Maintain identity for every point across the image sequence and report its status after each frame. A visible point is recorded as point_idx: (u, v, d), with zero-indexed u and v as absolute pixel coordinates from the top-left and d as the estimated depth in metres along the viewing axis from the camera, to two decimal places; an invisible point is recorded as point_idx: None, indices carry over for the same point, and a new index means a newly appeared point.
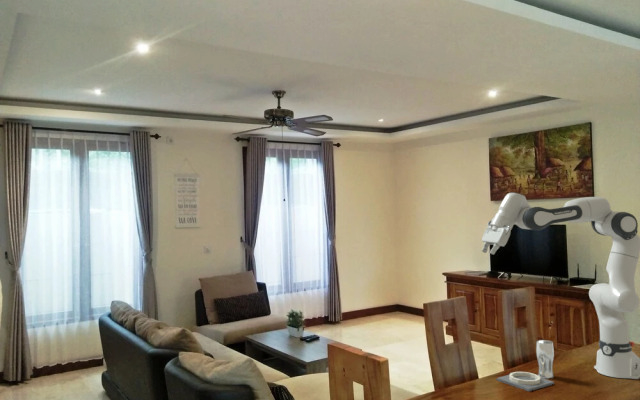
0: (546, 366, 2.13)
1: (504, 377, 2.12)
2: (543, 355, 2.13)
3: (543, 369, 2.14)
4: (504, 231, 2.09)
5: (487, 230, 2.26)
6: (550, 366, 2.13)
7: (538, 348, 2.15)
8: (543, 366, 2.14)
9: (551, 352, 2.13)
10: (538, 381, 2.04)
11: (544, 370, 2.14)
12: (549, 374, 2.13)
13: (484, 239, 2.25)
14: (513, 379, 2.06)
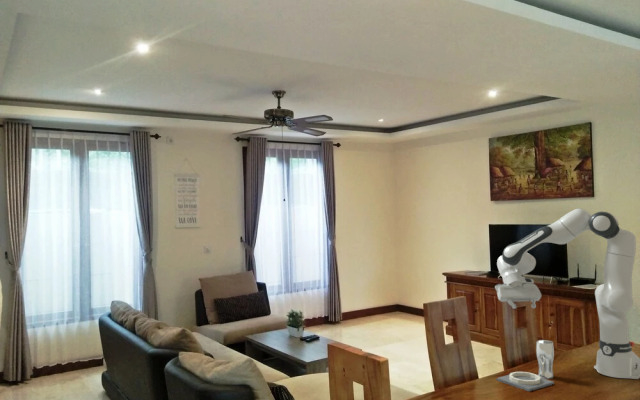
0: (546, 366, 2.13)
1: (504, 377, 2.12)
2: (543, 355, 2.13)
3: (543, 369, 2.14)
4: (497, 291, 2.38)
5: None
6: (550, 366, 2.13)
7: (538, 348, 2.15)
8: (543, 366, 2.14)
9: (551, 352, 2.13)
10: (538, 381, 2.04)
11: (544, 370, 2.14)
12: (549, 374, 2.13)
13: None
14: (513, 379, 2.06)
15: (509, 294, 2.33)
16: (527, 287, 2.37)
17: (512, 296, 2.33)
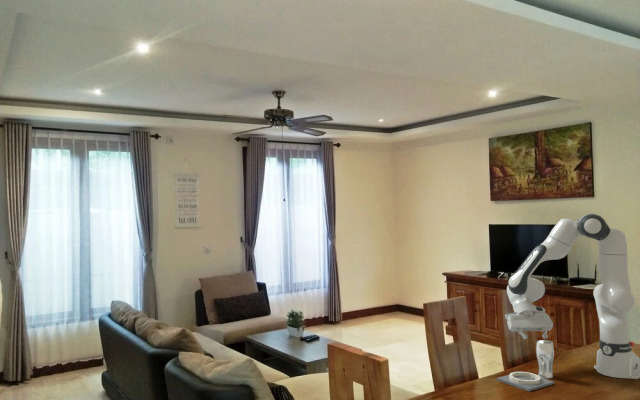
0: (546, 366, 2.13)
1: (504, 377, 2.12)
2: (543, 355, 2.13)
3: (543, 369, 2.14)
4: (507, 320, 2.31)
5: None
6: (550, 366, 2.13)
7: (538, 348, 2.15)
8: (543, 366, 2.14)
9: (551, 352, 2.13)
10: (538, 381, 2.04)
11: (544, 370, 2.14)
12: (549, 374, 2.13)
13: None
14: (513, 379, 2.06)
15: (520, 324, 2.27)
16: (538, 316, 2.30)
17: (523, 326, 2.26)
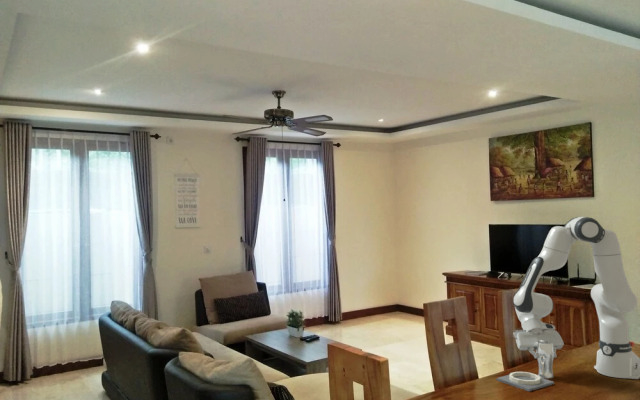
0: (546, 366, 2.13)
1: (504, 377, 2.12)
2: (543, 355, 2.13)
3: (543, 369, 2.14)
4: None
5: None
6: (550, 366, 2.13)
7: (538, 348, 2.15)
8: (543, 366, 2.14)
9: (551, 352, 2.13)
10: (538, 381, 2.04)
11: (544, 370, 2.14)
12: (549, 374, 2.13)
13: None
14: (513, 379, 2.06)
15: (529, 343, 2.18)
16: (548, 334, 2.22)
17: (532, 344, 2.18)
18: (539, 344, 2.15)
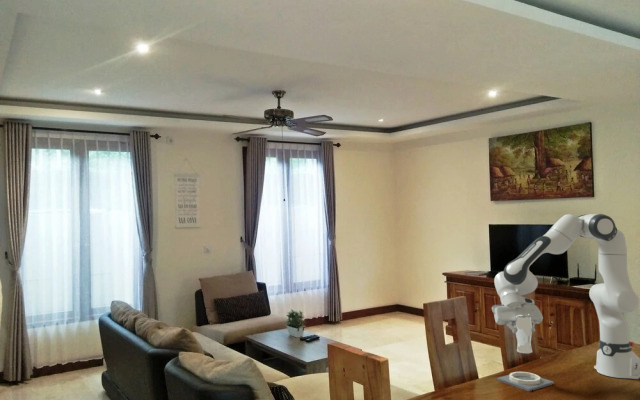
0: (525, 341, 2.07)
1: (504, 377, 2.12)
2: (521, 329, 2.07)
3: (522, 343, 2.07)
4: (494, 312, 2.16)
5: None
6: (528, 340, 2.07)
7: (516, 322, 2.08)
8: (521, 341, 2.07)
9: (529, 326, 2.06)
10: (538, 381, 2.04)
11: (522, 344, 2.07)
12: (528, 349, 2.06)
13: None
14: (513, 379, 2.06)
15: (507, 317, 2.12)
16: (527, 308, 2.15)
17: (510, 319, 2.11)
18: (517, 318, 2.08)
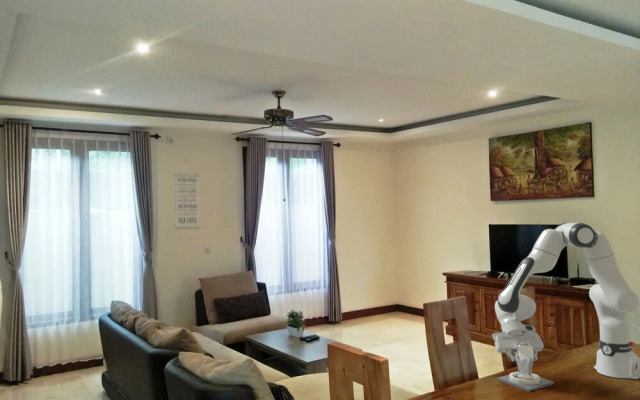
0: (526, 369, 2.06)
1: (504, 377, 2.12)
2: (522, 358, 2.06)
3: (523, 372, 2.07)
4: None
5: None
6: (529, 369, 2.06)
7: (517, 350, 2.08)
8: (522, 369, 2.07)
9: (530, 355, 2.06)
10: (538, 381, 2.04)
11: (523, 373, 2.07)
12: (528, 377, 2.06)
13: None
14: (513, 379, 2.06)
15: (508, 345, 2.11)
16: (528, 336, 2.15)
17: (511, 347, 2.10)
18: (518, 346, 2.08)
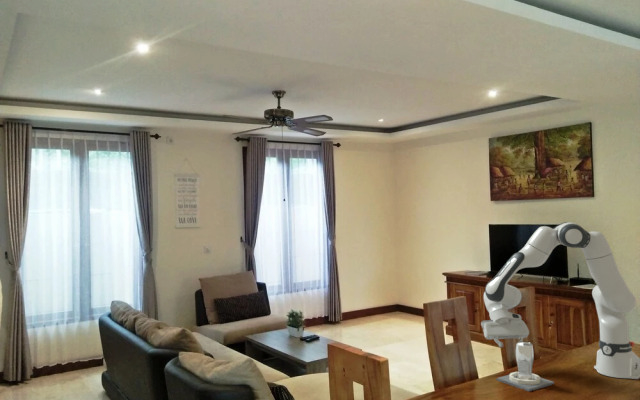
0: (526, 369, 2.06)
1: (504, 377, 2.12)
2: (522, 358, 2.06)
3: (523, 372, 2.07)
4: (483, 328, 2.29)
5: None
6: (529, 369, 2.06)
7: (517, 350, 2.08)
8: (522, 369, 2.07)
9: (530, 355, 2.06)
10: (538, 381, 2.04)
11: (523, 373, 2.07)
12: (528, 377, 2.06)
13: None
14: (513, 379, 2.06)
15: (495, 332, 2.25)
16: (514, 323, 2.28)
17: (499, 334, 2.24)
18: (518, 346, 2.08)
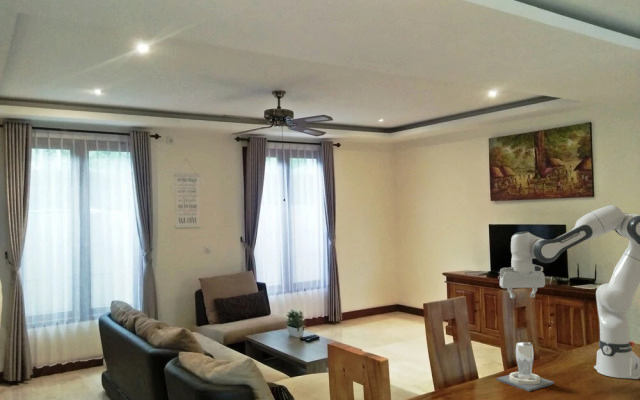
0: (526, 369, 2.06)
1: (504, 377, 2.12)
2: (522, 358, 2.06)
3: (523, 372, 2.07)
4: None
5: None
6: (529, 369, 2.06)
7: (517, 350, 2.08)
8: (522, 369, 2.07)
9: (530, 355, 2.06)
10: (538, 381, 2.04)
11: (523, 373, 2.07)
12: (528, 377, 2.06)
13: None
14: (513, 379, 2.06)
15: (512, 284, 2.23)
16: (533, 275, 2.24)
17: (514, 286, 2.23)
18: (518, 346, 2.08)
